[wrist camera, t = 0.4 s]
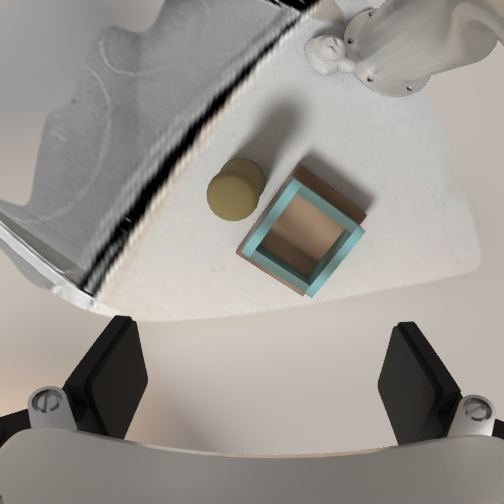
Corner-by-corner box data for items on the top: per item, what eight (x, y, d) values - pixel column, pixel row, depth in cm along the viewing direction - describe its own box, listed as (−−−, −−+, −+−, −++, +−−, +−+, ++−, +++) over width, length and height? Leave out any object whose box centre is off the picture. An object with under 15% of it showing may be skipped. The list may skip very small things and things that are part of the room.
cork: (229, 150, 39) (214, 155, 29) (273, 170, 40) (274, 183, 29) (210, 193, 41) (189, 213, 31) (252, 212, 42) (246, 239, 31)
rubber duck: (314, 31, 33) (324, 10, 25) (359, 58, 34) (378, 43, 26) (294, 63, 35) (299, 46, 27) (339, 90, 35) (356, 80, 28)
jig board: (297, 163, 39) (300, 166, 35) (364, 213, 41) (373, 221, 37) (236, 250, 43) (233, 261, 40) (302, 292, 45) (304, 307, 41)
